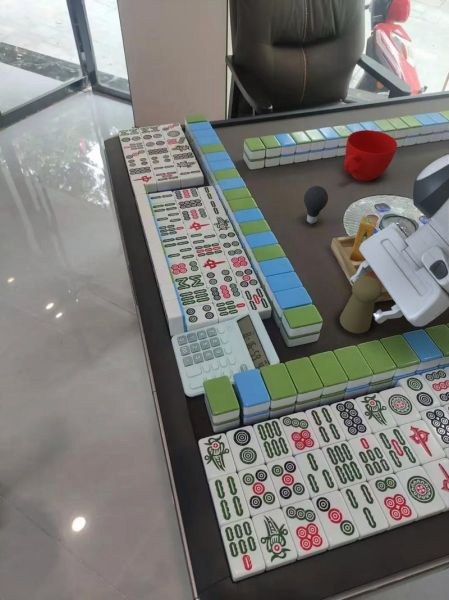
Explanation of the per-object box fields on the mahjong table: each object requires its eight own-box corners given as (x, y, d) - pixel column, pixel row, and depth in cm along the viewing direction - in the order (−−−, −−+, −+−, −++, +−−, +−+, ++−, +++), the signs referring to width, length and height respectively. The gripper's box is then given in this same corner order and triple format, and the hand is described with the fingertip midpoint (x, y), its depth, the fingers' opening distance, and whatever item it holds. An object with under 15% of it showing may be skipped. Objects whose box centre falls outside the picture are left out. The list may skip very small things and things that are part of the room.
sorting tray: (368, 242, 102) (371, 232, 100) (404, 297, 90) (409, 287, 88) (330, 247, 101) (332, 237, 98) (362, 304, 89) (365, 294, 86)
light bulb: (326, 220, 107) (334, 186, 100) (316, 232, 104) (323, 197, 97) (306, 213, 110) (312, 178, 102) (295, 224, 106) (301, 189, 99)
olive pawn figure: (336, 310, 87) (348, 271, 79) (365, 309, 88) (380, 270, 80) (344, 334, 83) (357, 295, 75) (374, 332, 84) (391, 294, 76)
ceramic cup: (321, 178, 120) (328, 145, 113) (358, 158, 128) (366, 125, 120) (359, 199, 114) (369, 164, 106) (395, 176, 121) (407, 142, 114)
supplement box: (366, 254, 98) (378, 218, 91) (363, 263, 96) (375, 228, 89) (352, 250, 99) (363, 214, 92) (348, 259, 97) (359, 223, 90)
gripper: (392, 209, 80) (332, 257, 85) (457, 286, 66) (382, 337, 72) (406, 225, 84) (348, 270, 89) (470, 301, 70) (398, 348, 76)
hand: (363, 300), depth 80 cm, fingers open, 8 cm apart
